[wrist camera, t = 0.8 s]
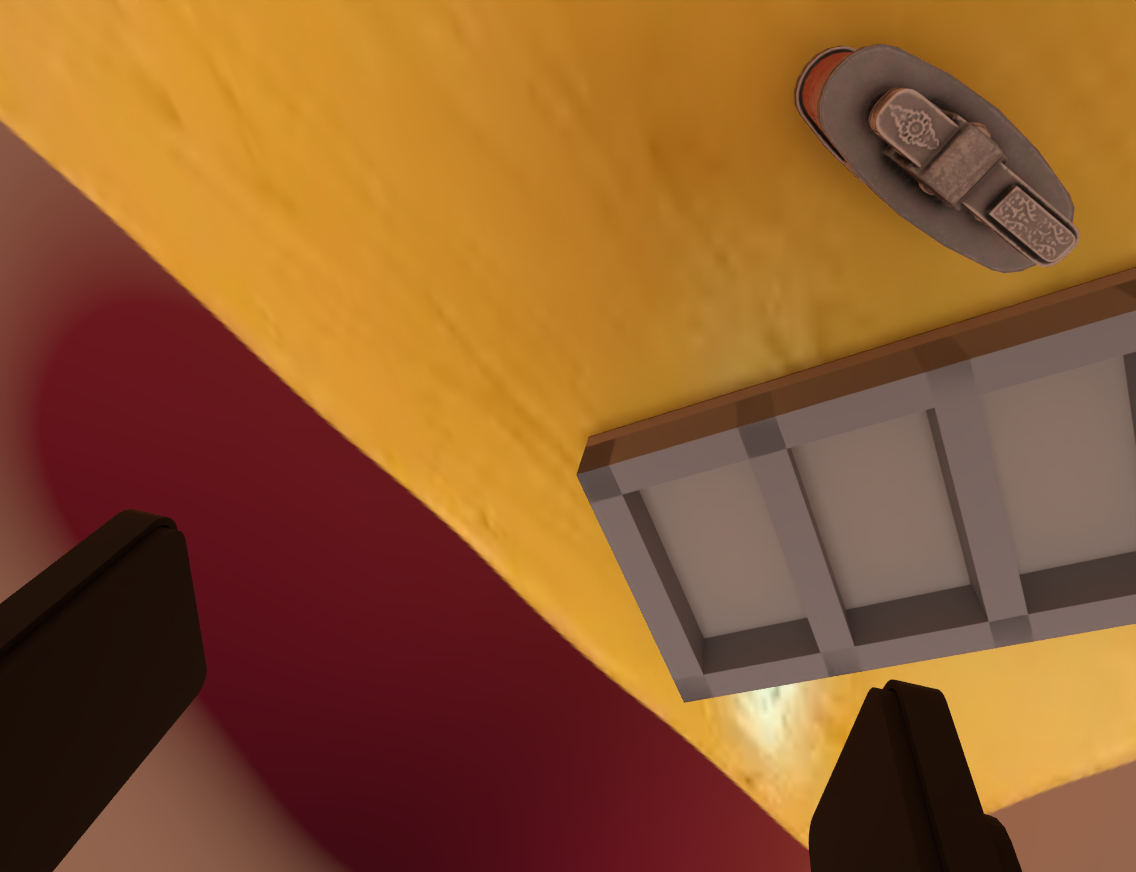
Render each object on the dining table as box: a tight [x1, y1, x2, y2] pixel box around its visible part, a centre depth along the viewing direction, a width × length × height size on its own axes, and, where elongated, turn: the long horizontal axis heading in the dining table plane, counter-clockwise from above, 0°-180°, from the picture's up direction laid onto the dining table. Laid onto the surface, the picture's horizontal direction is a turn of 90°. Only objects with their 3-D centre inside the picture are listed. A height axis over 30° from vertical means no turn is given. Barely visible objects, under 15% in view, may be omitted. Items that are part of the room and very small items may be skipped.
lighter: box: [794, 44, 1080, 273], centre depth 22 cm, size 8×3×10 cm, turn 55°
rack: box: [577, 268, 1136, 702], centre depth 32 cm, size 22×14×4 cm, turn 114°
